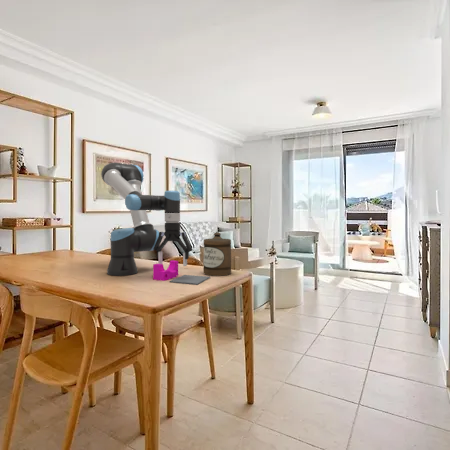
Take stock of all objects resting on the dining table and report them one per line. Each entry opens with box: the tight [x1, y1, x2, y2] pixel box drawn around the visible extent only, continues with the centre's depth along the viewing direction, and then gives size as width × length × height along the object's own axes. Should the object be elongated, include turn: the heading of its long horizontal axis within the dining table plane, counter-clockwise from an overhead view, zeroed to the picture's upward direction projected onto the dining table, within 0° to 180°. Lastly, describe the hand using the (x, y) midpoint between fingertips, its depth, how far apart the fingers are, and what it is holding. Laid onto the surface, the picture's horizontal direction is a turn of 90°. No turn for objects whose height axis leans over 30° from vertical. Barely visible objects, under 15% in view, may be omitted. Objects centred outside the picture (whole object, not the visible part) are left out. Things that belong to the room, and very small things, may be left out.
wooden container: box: [202, 231, 232, 277], centre depth 174 cm, size 15×15×22 cm
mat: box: [169, 274, 211, 286], centre depth 156 cm, size 14×16×1 cm
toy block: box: [152, 260, 179, 282], centre depth 162 cm, size 15×6×8 cm, turn 152°
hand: (172, 265), depth 161 cm, fingers open, 13 cm apart
